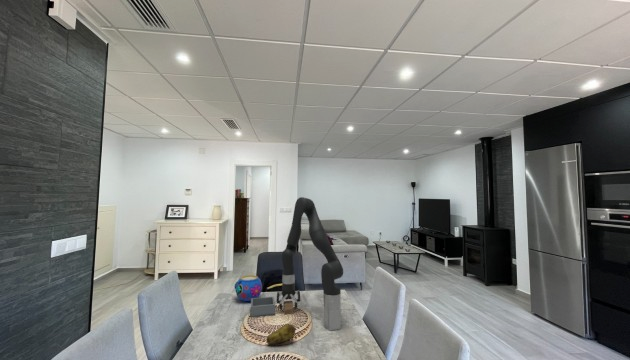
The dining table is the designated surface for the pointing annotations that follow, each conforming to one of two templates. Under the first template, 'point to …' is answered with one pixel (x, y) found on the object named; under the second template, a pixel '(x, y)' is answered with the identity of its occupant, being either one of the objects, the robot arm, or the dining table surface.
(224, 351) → the dining table surface
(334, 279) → the robot arm
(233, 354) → the dining table surface
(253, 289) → the ceramic pot
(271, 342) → the green pear
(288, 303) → the walnut block
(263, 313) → the charcoal bin
